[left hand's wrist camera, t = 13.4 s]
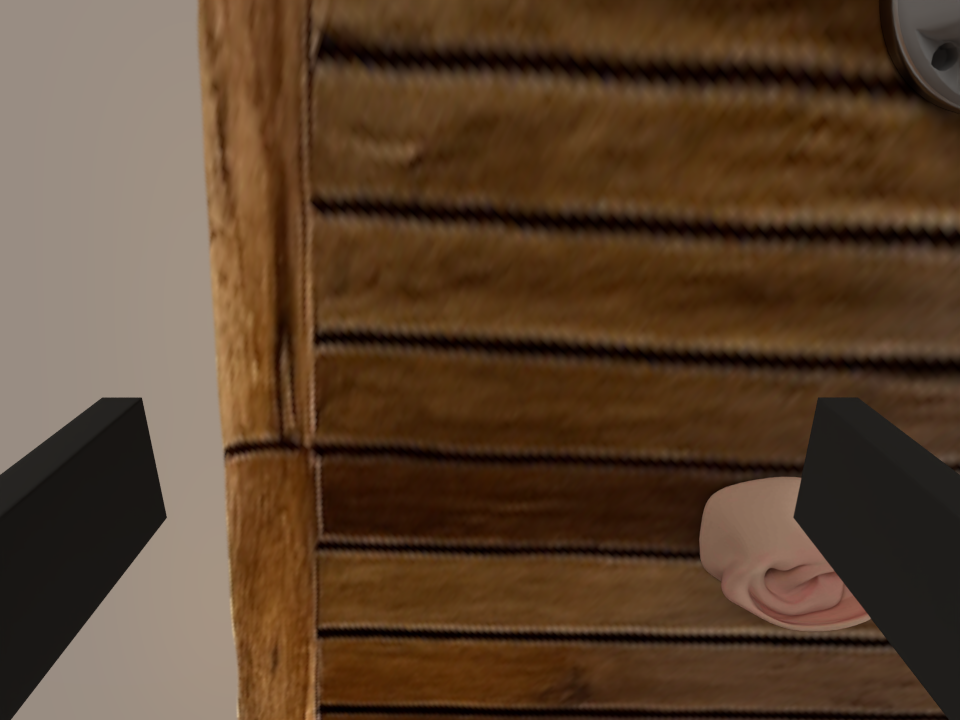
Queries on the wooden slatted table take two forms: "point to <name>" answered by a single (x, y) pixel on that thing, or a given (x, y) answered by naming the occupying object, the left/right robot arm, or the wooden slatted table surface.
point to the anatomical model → (773, 558)
